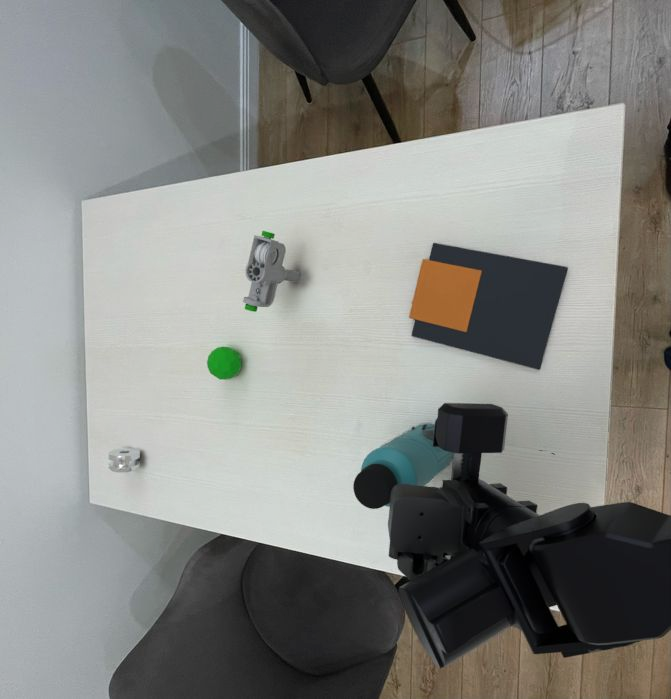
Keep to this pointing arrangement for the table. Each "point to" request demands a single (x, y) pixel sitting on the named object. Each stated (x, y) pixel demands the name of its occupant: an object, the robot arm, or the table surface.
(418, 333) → the pad
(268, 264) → the mechanical component
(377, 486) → the beverage bottle
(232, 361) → the polyhedron
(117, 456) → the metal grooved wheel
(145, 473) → the table surface
